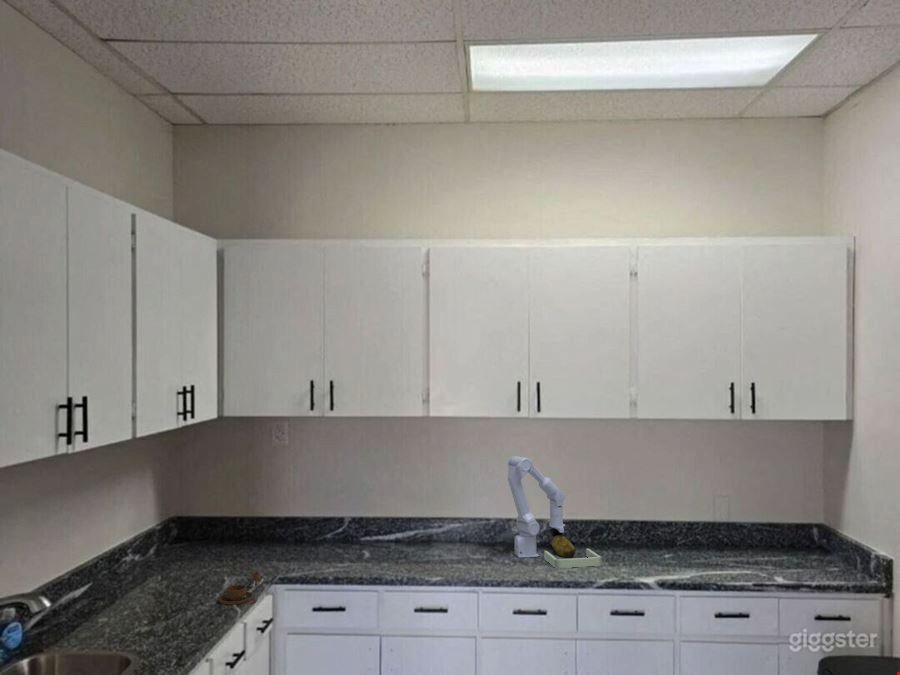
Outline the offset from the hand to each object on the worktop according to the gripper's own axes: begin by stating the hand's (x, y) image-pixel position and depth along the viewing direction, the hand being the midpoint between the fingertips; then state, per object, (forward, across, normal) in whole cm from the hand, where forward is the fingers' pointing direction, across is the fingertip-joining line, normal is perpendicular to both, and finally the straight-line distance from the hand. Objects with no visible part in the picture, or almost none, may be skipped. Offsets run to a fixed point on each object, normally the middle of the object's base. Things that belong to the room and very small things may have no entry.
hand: (556, 545), depth 317 cm
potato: (+3, -8, 0) cm, 8 cm away
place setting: (+3, -38, +133) cm, 139 cm away
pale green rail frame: (+2, -20, 0) cm, 20 cm away
